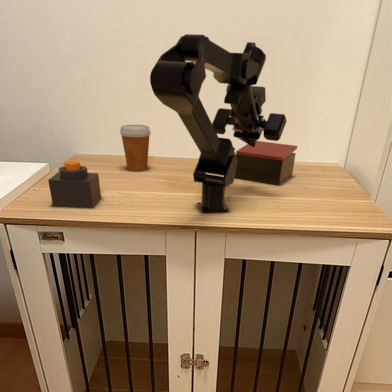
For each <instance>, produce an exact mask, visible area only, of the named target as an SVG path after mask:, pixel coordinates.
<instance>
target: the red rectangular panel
mask: <svg viewBox="0 0 392 392" xmlns="http://www.w3.org/2000/svg"><path fill="white" fill-rule="evenodd" d="M297 149H298V145H293V144H285V143H278V142H269V141H263V140H262V141H260V140H257V141H256V145H255V147H252V146H250V145H248V144H247V143H246V144H245V145H244V146H242V147H241V148H239V149H237V150H236V151H235V154H240V155H247V156H254V157H261V158H268V159H275V160H282V161H283V160H284V159H285V158H286V157H287V156H289V155H290V154H291V153H295V151H296V150H297Z"/></svg>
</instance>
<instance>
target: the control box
mask: <svg viewBox="0 0 392 392" xmlns="http://www.w3.org/2000/svg"><path fill="white" fill-rule="evenodd" d="M80 168H81V170H76V171H67V170H65V165H63V166H60V167H59V168H58V172H56V173H55V174H54V175H52V176H51V177H50V178H49V179H48V180H47V181H48V186H49V193H50V198H51V202H52V203H51V204H52V207H62V208H63V207H64V208H65V207H66V208H81V209H82V208H83V209H94V208H95V206H97V204H98V203H99V202H100V200H101V199H102V195H101V186H100V185H101V184H100V177H99V172H88V168H87V166H85V165H80Z"/></svg>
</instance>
